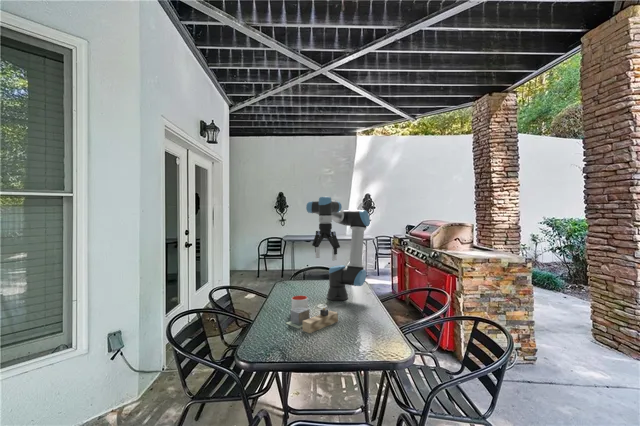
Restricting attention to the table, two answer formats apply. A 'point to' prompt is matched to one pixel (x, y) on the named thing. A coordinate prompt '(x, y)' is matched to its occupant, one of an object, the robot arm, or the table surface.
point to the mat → (294, 325)
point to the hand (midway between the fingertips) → (325, 259)
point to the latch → (324, 312)
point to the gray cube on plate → (299, 315)
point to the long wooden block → (319, 322)
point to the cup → (299, 302)
